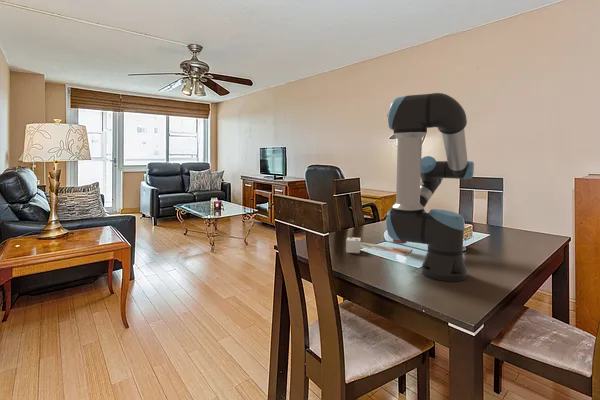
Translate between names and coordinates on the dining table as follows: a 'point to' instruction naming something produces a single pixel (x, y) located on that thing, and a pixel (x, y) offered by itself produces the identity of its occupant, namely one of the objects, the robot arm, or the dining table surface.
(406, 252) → the game board
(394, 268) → the dining table surface
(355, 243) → the die
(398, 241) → the dildo
